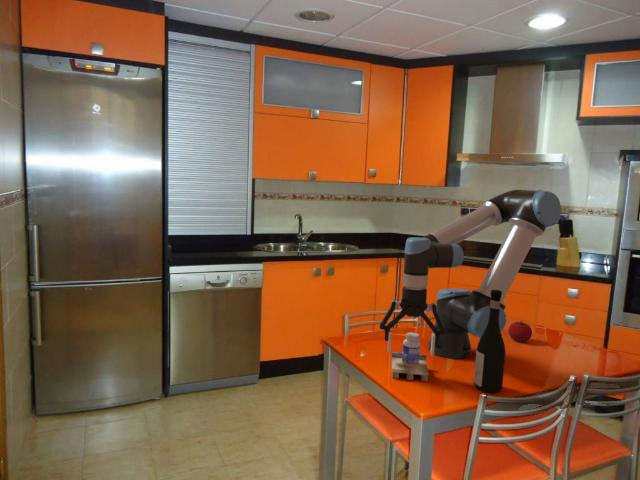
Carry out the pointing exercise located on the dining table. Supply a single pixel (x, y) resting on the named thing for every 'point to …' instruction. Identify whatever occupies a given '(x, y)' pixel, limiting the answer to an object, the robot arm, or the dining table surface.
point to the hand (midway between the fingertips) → (410, 352)
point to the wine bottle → (491, 351)
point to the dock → (400, 368)
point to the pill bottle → (411, 350)
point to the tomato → (520, 331)
